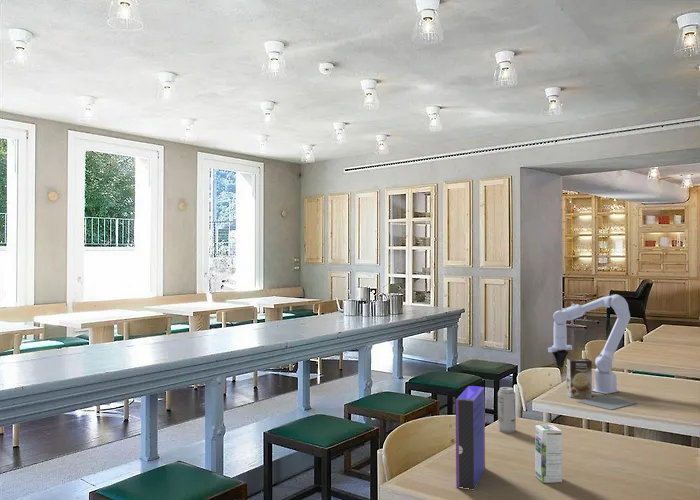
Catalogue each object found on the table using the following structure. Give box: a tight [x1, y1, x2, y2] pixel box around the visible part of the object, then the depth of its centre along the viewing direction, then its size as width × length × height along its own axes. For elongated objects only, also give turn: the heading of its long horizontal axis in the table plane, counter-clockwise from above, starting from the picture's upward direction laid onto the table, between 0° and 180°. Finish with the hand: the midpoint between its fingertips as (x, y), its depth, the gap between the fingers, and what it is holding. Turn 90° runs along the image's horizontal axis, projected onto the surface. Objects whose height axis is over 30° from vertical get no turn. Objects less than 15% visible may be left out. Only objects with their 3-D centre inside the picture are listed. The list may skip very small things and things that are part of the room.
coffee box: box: [566, 357, 593, 399], centre depth 257 cm, size 9×6×16 cm
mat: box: [576, 394, 638, 411], centre depth 246 cm, size 18×16×1 cm
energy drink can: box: [497, 386, 517, 434], centre depth 209 cm, size 6×6×15 cm
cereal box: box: [455, 385, 486, 490], centre depth 167 cm, size 17×5×24 cm, turn 157°
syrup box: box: [534, 424, 563, 484], centre depth 165 cm, size 6×6×14 cm
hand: (560, 366), depth 270 cm, fingers closed
